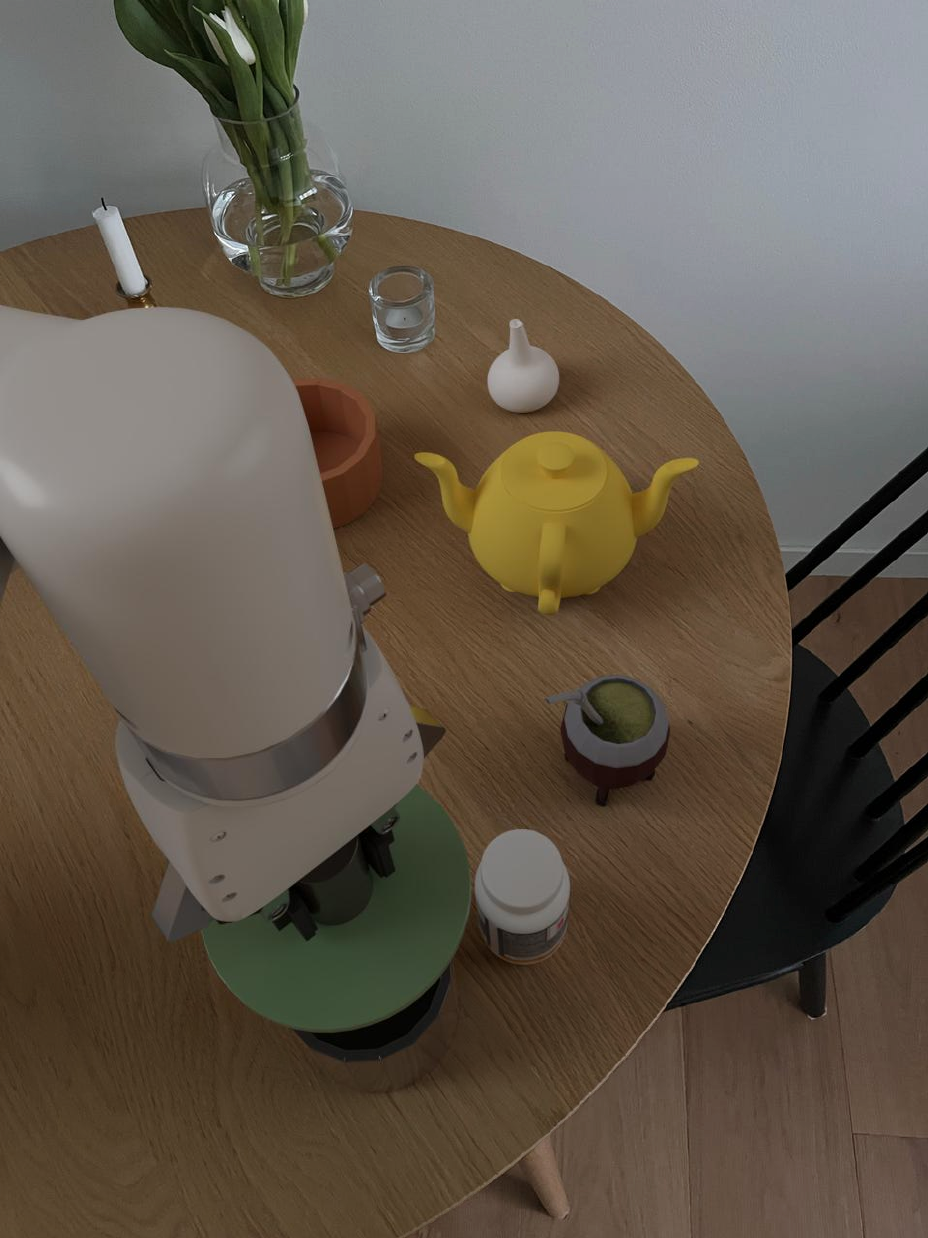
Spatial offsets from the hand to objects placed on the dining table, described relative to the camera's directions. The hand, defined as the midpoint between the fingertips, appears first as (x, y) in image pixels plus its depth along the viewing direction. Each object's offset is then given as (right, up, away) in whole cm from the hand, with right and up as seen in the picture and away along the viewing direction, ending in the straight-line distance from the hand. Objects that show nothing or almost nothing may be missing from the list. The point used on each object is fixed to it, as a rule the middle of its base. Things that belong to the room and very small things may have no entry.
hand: (331, 880), depth 48 cm
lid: (0, -1, +1) cm, 1 cm away
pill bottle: (+10, -8, +20) cm, 23 cm away
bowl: (-7, +24, +41) cm, 48 cm away
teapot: (+13, +16, +36) cm, 41 cm away
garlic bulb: (+11, +32, +46) cm, 57 cm away
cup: (+1, -12, +17) cm, 21 cm away
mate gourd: (+16, +1, +25) cm, 30 cm away
